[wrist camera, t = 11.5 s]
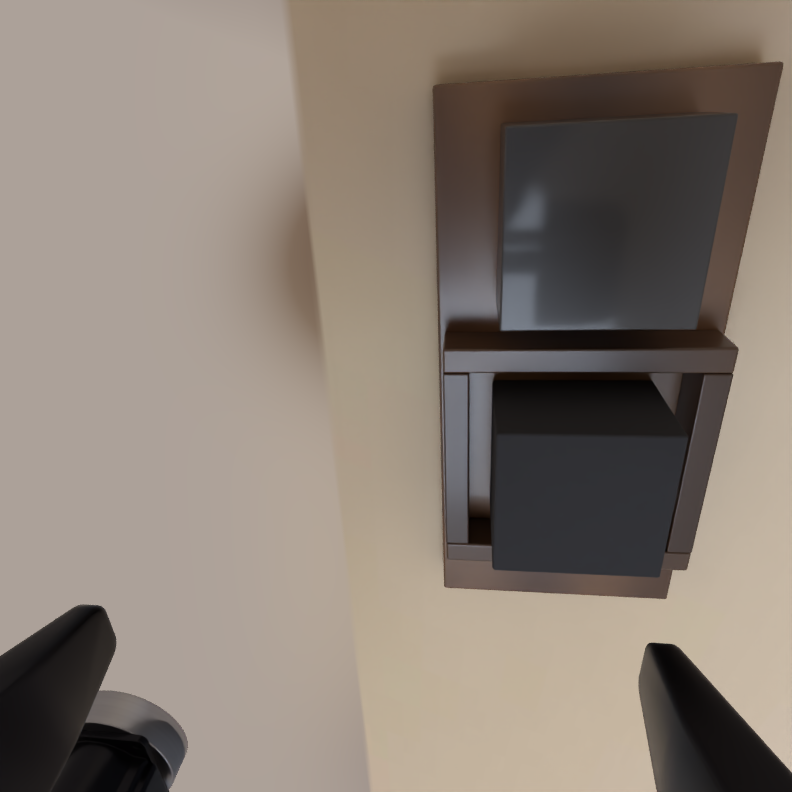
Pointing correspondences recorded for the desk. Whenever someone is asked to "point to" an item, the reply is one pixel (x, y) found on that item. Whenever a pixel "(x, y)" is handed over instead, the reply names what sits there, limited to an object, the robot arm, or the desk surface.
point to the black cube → (582, 476)
